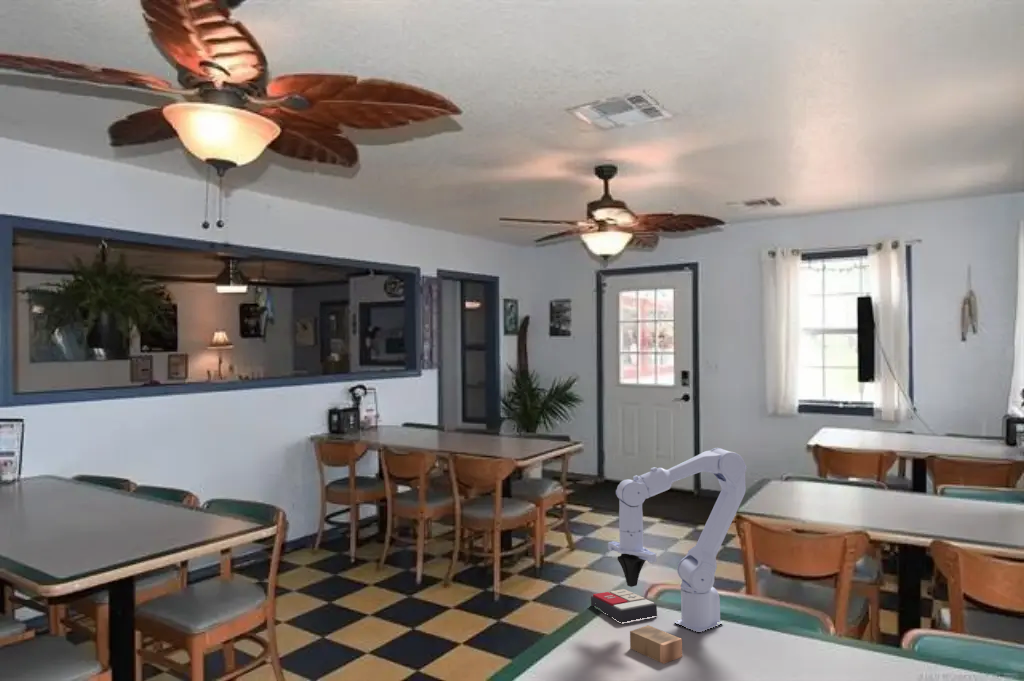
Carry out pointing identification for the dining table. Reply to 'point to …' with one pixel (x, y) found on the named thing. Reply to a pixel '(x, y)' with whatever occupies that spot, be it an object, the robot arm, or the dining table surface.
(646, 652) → the walnut block
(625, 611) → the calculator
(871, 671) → the dining table surface
